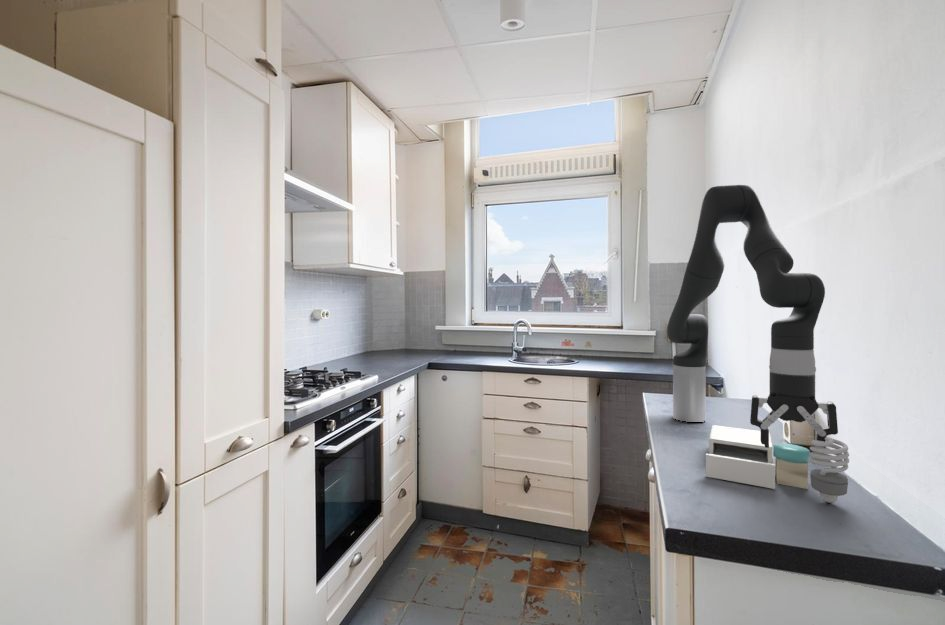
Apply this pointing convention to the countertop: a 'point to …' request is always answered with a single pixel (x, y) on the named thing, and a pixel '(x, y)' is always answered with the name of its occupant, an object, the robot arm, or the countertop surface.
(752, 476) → the tray
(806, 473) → the beige cube block
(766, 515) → the countertop surface
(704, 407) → the robot arm
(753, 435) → the box
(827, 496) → the light bulb
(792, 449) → the teal shallow dome
